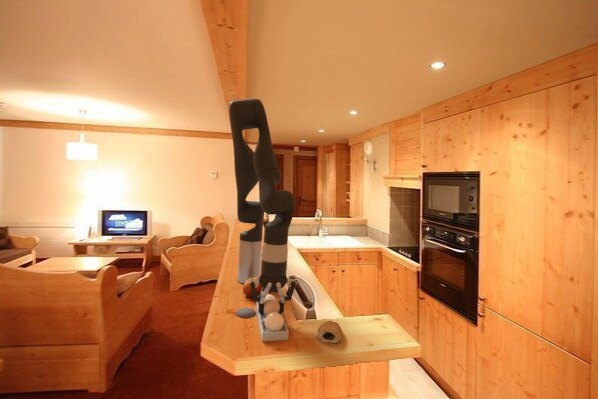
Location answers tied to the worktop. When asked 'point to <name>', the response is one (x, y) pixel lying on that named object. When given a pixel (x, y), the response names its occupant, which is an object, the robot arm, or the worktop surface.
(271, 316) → the egg
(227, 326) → the worktop surface
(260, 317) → the carton
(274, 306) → the pale pink ball
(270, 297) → the egg
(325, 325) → the pastry
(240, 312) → the mat
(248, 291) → the fruit
